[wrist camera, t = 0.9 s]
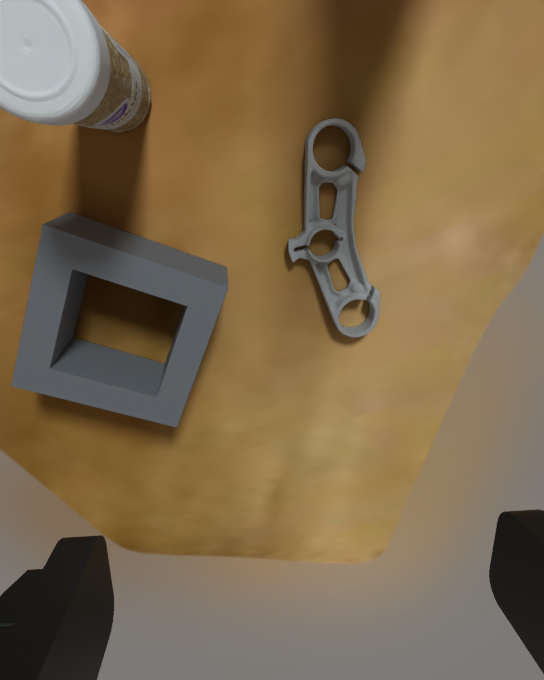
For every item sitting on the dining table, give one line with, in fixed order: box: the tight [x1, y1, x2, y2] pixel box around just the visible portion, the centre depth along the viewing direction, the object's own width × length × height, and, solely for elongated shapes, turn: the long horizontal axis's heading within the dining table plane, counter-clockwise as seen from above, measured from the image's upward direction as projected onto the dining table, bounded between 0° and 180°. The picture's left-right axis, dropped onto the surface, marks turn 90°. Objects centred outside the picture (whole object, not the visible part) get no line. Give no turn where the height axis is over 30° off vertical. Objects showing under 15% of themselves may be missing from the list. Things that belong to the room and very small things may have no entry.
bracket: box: [288, 118, 380, 338], centre depth 31 cm, size 8×2×15 cm
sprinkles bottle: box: [0, 0, 151, 132], centre depth 20 cm, size 5×5×13 cm
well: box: [12, 212, 228, 428], centre depth 30 cm, size 11×11×5 cm
